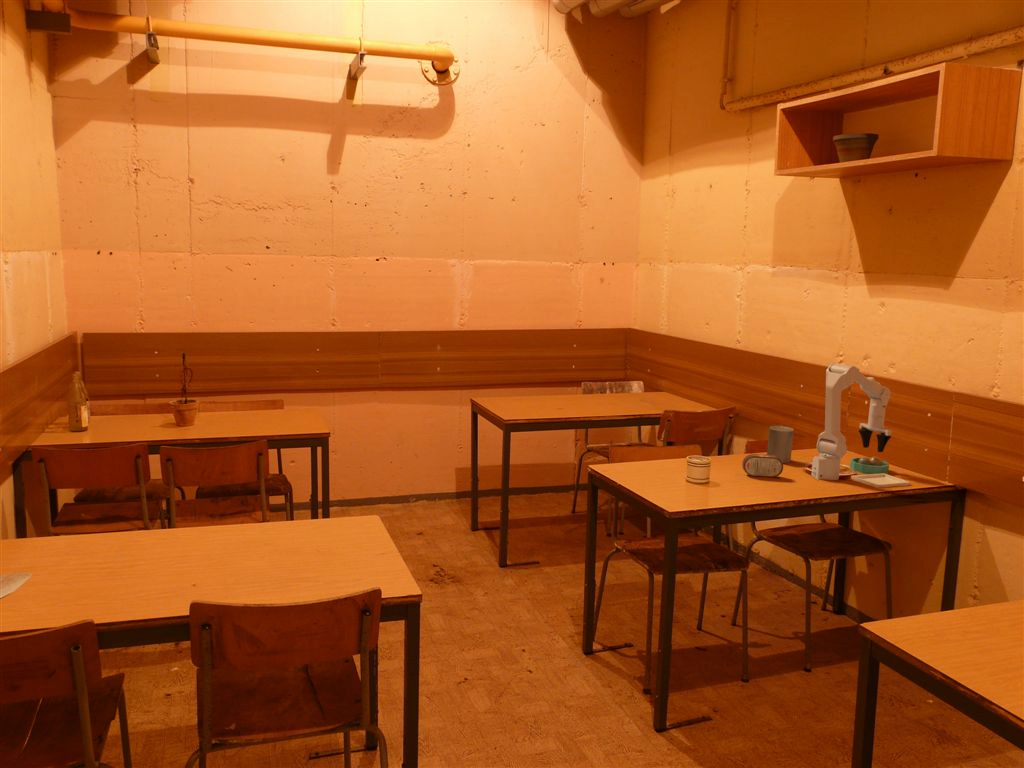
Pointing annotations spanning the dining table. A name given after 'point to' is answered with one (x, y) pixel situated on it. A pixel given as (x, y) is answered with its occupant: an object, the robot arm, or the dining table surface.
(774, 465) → the tin
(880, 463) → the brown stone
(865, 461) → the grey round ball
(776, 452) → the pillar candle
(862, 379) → the robot arm
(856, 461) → the teal bowl
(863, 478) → the tray
